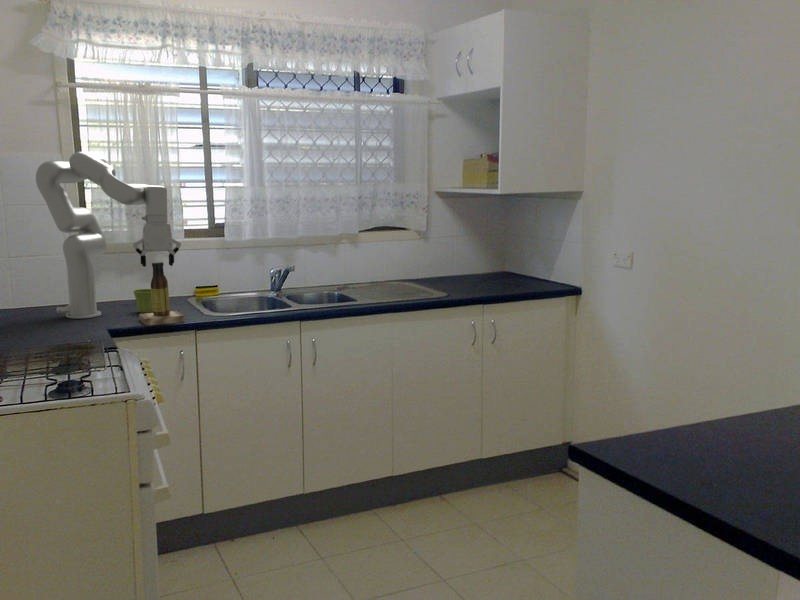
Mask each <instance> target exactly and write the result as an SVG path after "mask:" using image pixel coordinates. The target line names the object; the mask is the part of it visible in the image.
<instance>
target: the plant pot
mask: <svg viewBox="0 0 800 600" xmlns="http://www.w3.org/2000/svg"><path fill="white" fill-rule="evenodd" d="M132 293H133V295H134V296H135V297H134V298H135V302H136V307H137V308H136V309H137V312H138V313H139V312H140V313H139V314H145V313H153V310H152V296H151V288H141V289H140V288H138V289H134V290H132Z"/></svg>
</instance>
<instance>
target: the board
mask: <svg viewBox="0 0 800 600" xmlns="http://www.w3.org/2000/svg"><path fill="white" fill-rule="evenodd" d="M138 316H139V317H138V319H139V320H140V322H141V323H142V324H143V325H145V326H146V327H148V326H155V325H156V326H157V325H168V324H179V323H185V315H184V314H182V313H181V312H179V311H178V310H170V314H168V315H163V316H157V315H154V314H153V312H150V313H147V312H144V313H139V314H138Z"/></svg>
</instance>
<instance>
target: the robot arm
mask: <svg viewBox="0 0 800 600" xmlns="http://www.w3.org/2000/svg"><path fill="white" fill-rule="evenodd" d="M116 175H117V173H116V169H115V168H114V167H113V166H112V165H110V164H107V160H106V158H105V157H104V156H103V155H102V154H101V153H99V152H95V151H77V152H74V153H73V154H71V156H70V157H69V160H49V161H45V162H42V163H41V164H40V165H39V166H38V168H37V170H36V173H35V183H36V186H37V189H38V191H39V192H40V195H42V198H43V200H44V201H45V204H46V205H47V208H48V210H49V212H50V213H49V214H51V217H52V219H53V221H54V223H55V226H56V228H57V229H58V231H60V232H61V233H63V234H64V233H65V234H70V233H71V235H69V236H67V237H66V238H65V240H64V242H63V244H62V252H63V255H64V259H65V263H66V272H67V283H68V285H67V286H68V300H69V301H68V302H69V303H68V304H67V305H65V306H64V307H63V306H62V307H56V313H57V314H58V313H61V314H62V313H66V314H65V317H66V318H69V319H76V320H77V319H81V320H82V319H90V318H91V319H92V318H96V317H100V316H102V311H100V310H97V309H98V308H97V295H96V277H95V268H94V265H93V263H92V261H91V258H96V257H97V258H98V257H100V256H102V255H103V254H104V253H105V252H106V251H107V240H106V237H105V235H104V234H103V231H102V229H101V226H100V224H99V222H98V220H97V218H96V216H95V214H94V213H93V212H92V211H91V210H90V209H88V208H86V207H83V206H78V207H77V206H75V205H74V203H73V202H72V200H71V197H70V195H69V193H68V192H67V191H66V190H65V189H64V188H63V187H62V186H61V184H77V183H81V182H83V181H86V180H89V181H90V182H92V183H93V184H96V185H97V186H99V187H100V189H101V190H102V191H103V193H105V195H106V196H108V197H109V198H110V199H113V200H114V201H116V202H118V203H120V204H122V205H125V206H137V205H138V206H139V205H145V215H144V216H142V215H141V220H142V221H145V222H144V223H143V228H142V238H140V239H139V240H136V241H135V242H132V247H133V248H134V250H135V252H137V253H138V255H140V265H141V266H142V267H147V256H146V253H147V252H159V251H160V252H163V251H166V252H168V253H169V254H168V265H169V266H170V267H173V265H174V264H175V255H176V253H178V251H179V249H180V248H181V246H182V243H181V242H179V241H177V240H176V239H173V236H172V235H173V234H172V229H171V228H172V227H171V223H169V222H168V189H167V187H166V186H164V185H156V184H155V185H152V184H151V185H150V184H145V183H126V182H124V181H122V180H120V179H119V178H117V177H116ZM72 233H76V234H72ZM173 244H174V245H175V247H174V248H173ZM140 245H142V249H140V248H139V246H140Z"/></svg>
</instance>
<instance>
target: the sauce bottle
mask: <svg viewBox="0 0 800 600" xmlns="http://www.w3.org/2000/svg"><path fill="white" fill-rule="evenodd" d="M151 266H152V278H151V280H150V281H151V282H150V289H151V296H152V310H153V312H152V313H153V314H154V315H157V316H163V315H168V314H170V311H171V310H170V309H171V305H170V293H169V285H168V279H167V277H166V275H165V274H164V273H165V272H164V261H153V262H152V263H151Z"/></svg>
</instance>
